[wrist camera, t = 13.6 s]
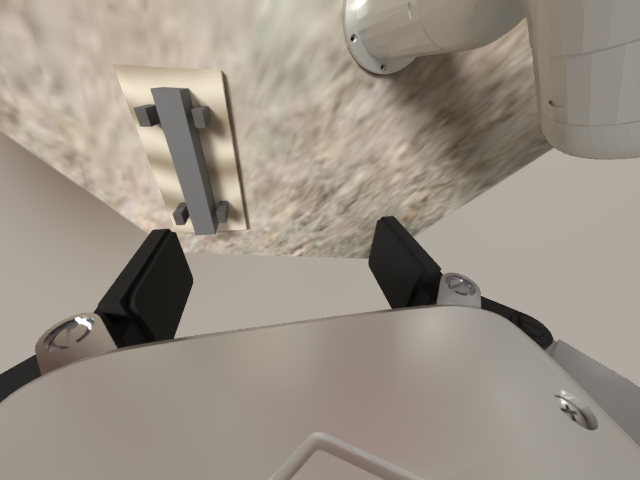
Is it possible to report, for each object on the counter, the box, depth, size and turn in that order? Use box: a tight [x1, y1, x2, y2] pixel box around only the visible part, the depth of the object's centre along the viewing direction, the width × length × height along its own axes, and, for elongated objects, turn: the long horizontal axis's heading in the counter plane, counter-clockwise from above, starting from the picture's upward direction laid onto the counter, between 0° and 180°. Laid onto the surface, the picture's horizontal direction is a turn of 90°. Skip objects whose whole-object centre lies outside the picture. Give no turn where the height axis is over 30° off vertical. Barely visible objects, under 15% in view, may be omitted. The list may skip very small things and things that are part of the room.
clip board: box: [113, 64, 247, 234], centre depth 34 cm, size 24×12×5 cm, turn 178°
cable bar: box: [150, 87, 219, 235], centre depth 34 cm, size 20×3×4 cm, turn 177°
